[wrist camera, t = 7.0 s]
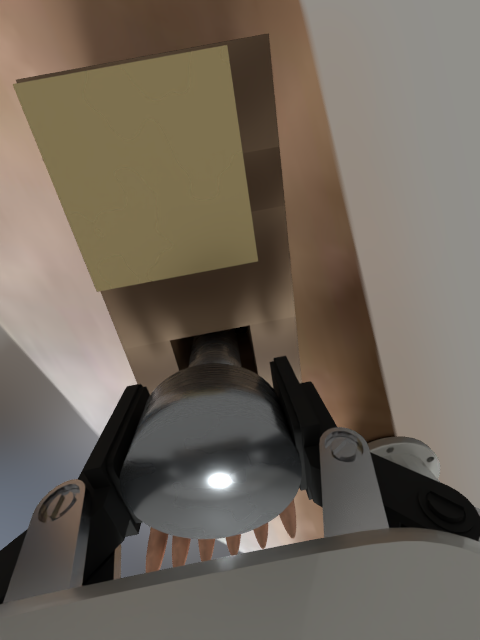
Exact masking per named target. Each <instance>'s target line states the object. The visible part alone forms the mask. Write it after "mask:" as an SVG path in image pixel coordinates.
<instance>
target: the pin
mask: <svg viewBox="0 0 480 640" xmlns="http://www.w3.org/2000/svg"><path fill="white" fill-rule="evenodd" d="M301 478H302V467H301V462H300V458H299V455H298V453H297V450H296V448H295V445H294V442H293V439H292V436H291V433H290V430H289V427H288V424H287V421H286V418H285V415H284V412H283V409H282V406H281V403H280V400H279V397H278V395H277V393H276V392H275V390H274V389H273V388H272V386H271V385H270V384H269V383H268V382H267V381H266V380H264V379H263V378H262V377H261V376H259V375H257V374H256V373H254V372H252V371H250V370H248V369H245V368H242V366H241V360H240V353H239V347H238V341H237V336H236V333H235V331H234V329H233V328H232V329H227V330H222V331H217V332H212V333H206V334H201V335H196V336H194V338H193V344H192V349H191V354H190V360H189V365H188V368H186V369H183V370H180V371H178V372H176V373H174V374H172V375H171V376H169V377H168V378H166V379H165V380H164V381H162V382H161V383H160V384H159V385H158V386H157V387H156V388H155V390H154V391H153V392H152V393H151V395H150V397H149V398H148V400H147V403H146V405H145V408H144V410H143V413H142V416H141V418H140V421H139V424H138V426H137V429H136V432H135V434H134V437H133V440H132V442H131V445H130V448H129V450H128V453H127V456H126V458H125V461H124V464H123V466H122V469H121V474H120V490H121V495H122V497H123V499H124V502H125V504H126V505H127V507H128V508H129V510H130V511H131V512H132V513H133V514H134V515H135V516H136V517H137V518H138V519H140V520H141V521H142V522H144V523H145V524H147V525H148V526H151V527H152V528H154V529H156V530H158V531H161V532H164V533H166V534H170V535H173V536H177V537H183V538H190V539H217V538H225V537H231V536H235V535H239V534H242V533H245V532H248V531H251V530H253V529H256V528H258V527H260V526H262V525H264V524H266V523H268V522H269V521H271V520H272V519H274V518H275V517H277V516H278V515H279V514H280V513H281V512H283V511H284V510H285V509H286V508H287V506H288V505H289V504H290V503H291V501H292V500H293V499H294V497H295V495H296V494H297V492H298V489H299V486H300V484H301Z"/></svg>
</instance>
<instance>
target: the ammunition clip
mask: <svg viewBox="0 0 480 640" xmlns="http://www.w3.org/2000/svg"><path fill="white" fill-rule="evenodd" d="M279 515H280V518H281V521H282V523H283V525H284V527H285V529H286V531H287V533H288V534H289V536H290V537H291V538H294V537H295V534H296V512H295V504H294V499H293V500H292V501H291V503H290V504H289V505H288V506H287V508H286V509H285V510H284V511H283V512H281V513H280V514H279ZM253 530H254V533H255V536H256V538H257V541H258V543H259V545H260V547H261V548H262V549H264V548H265V546H266V542H267V536H268V523H266V524H264V525H262V526H260V527H258V528H256V529H253ZM240 538H241V534H239V535H235V536H231V537H226V541H227V545H228V549H229V552H230V554H231V556H233V555H237V553H238V550H239V545H240ZM167 539H168V534H166V533H164V532H161V531H158V530H156V529H154V528H152V527H151V529H150V536H149V541H148V547H147V555H146V573H149V572H154V571H159V569H160V566H161V563H162V560H163V557H164V553H165V549H166V544H167ZM198 541H199V551H200V557H201V561H202V562H203V561H208V560H211V557H212V553H213V548H214V542H215V539H198ZM189 545H190V538H183V537H177V536H173V541H172V560H173V561H172V562H173V567H178V566H183V565H185V561H186V558H187V554H188V550H189Z"/></svg>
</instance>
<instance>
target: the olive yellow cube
mask: <svg viewBox="0 0 480 640" xmlns="http://www.w3.org/2000/svg"><path fill="white" fill-rule="evenodd" d="M13 86H14V89H15V91H16V94H17V96H18V99H19V101H20V104H21V106H22V109H23V111H24V114H25V116H26V118H27V121H28V123H29V126H30V128H31V131H32V133H33V136H34V138H35V141H36V143H37V146H38V148H39V150H40V153H41V155H42V158H43V160H44V163H45V165H46V168H47V170H48V173H49V175H50V178H51V180H52V182H53V185H54V187H55V190H56V192H57V195H58V197H59V200H60V202H61V205H62V207H63V210H64V212H65V214H66V217H67V219H68V222H69V224H70V227H71V229H72V232H73V234H74V237H75V239H76V242H77V244H78V246H79V249H80V251H81V254H82V256H83V259H84V261H85V264H86V266H87V269H88V271H89V274H90V276H91V278H92V281H93V283H94V286H95V288H96V291H97V292H99V291H104V290H109V289H114V288H120V287H125V286H130V285H136V284H141V283H146V282H151V281H157V280H162V279H167V278H173V277H178V276H183V275H188V274H194V273H199V272H204V271H210V270H215V269H220V268H225V267H231V266H236V265H241V264H247V263H252V262H257V261H258V256H257V249H256V242H255V236H254V229H253V222H252V215H251V208H250V201H249V194H248V187H247V180H246V173H245V166H244V159H243V152H242V145H241V138H240V131H239V124H238V117H237V110H236V103H235V96H234V89H233V82H232V75H231V68H230V61H229V54H228V47H227V45H224V46H219V47H213V48H208V49H202V50H197V51H191V52H186V53H180V54H175V55H169V56H164V57H159V58H153V59H148V60H142V61H137V62H131V63H126V64H120V65H115V66H109V67H104V68H99V69H93V70H88V71H82V72H77V73H71V74H66V75H60V76H55V77H49V78H44V79H39V80H33V81H28V82H22V83H17V84H13Z"/></svg>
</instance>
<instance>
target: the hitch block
mask: <svg viewBox="0 0 480 640" xmlns="http://www.w3.org/2000/svg"><path fill="white" fill-rule="evenodd" d="M224 45H227V47H228V54H229V61H230V68H231V75H232V82H233V89H234V96H235V103H236V110H237V117H238V124H239V131H240V138H241V145H242V152H243V159H244V166H245V173H246V180H247V187H248V194H249V201H250V208H251V215H252V222H253V229H254V236H255V242H256V249H257V256H258V261H257V262H252V263H247V264H241V265H236V266H231V267H225V268H220V269H215V270H210V271H204V272H199V273H194V274H188V275H183V276H178V277H173V278H167V279H162V280H157V281H151V282H146V283H141V284H136V285H130V286H125V287H120V288H114V289H109V290H104V291H101V294H102V296H103V299H104V301H105V304H106V306H107V309H108V311H109V314H110V316H111V319H112V321H113V324H114V326H115V329H116V331H117V334H118V336H119V339H120V341H121V344H122V346H123V349H124V351H125V354H126V356H127V359H128V361H129V364H130V366H131V369H132V371H133V374H134V376H135V379H136V381H137V384H142V386H143V387H144V386H146V387H147V389H148V391H149V394H150V395H151V393H152V392H153V391H154V390H155V388H156V387H157V386H158V385H159V384H160V383H161V382H162V381H164V380H165V379H166V378H168V377H169V376H171V375H172V374H174V373H176V372H178V371H180V370H183V369H186V368H188V365H189V360H190V354H191V349H192V344H193V338H194V336H196V335H201V334H206V333H212V332H217V331H222V330H227V329H232V328H238V327H243V326H246V330H247V333H242V334H236V336H237V341H238V347H239V353H240V360H241V366H242V368H245V369H248V370H250V371H252V372H254V373H256V374H257V375H259V376H261V377H262V378H263V379H264V380H266V381H267V382H268V383H269V384H270V385H271V386H272V388H273V383H272V376H271V369H270V362H272V361H274V358H276V357H281V356H286V357H287V359H288V361H289V363H290V365H291V367H292V369H293V371H294V373H295V375H296V377H297V379H298V381H299V383H302V380H301V369H300V359H299V348H298V338H297V327H296V317H295V306H294V296H293V285H292V274H291V264H290V253H289V243H288V232H287V222H286V211H285V201H284V190H283V180H282V169H281V159H280V148H279V138H278V127H277V117H276V106H275V96H274V85H273V75H272V64H271V54H270V43H269V34H263V35H258V36H252V37H247V38H241V39H236V40H230V41H225V42H219V43H214V44H208V45H203V46H198V47H192V48H187V49H181V50H176V51H170V52H165V53H159V54H154V55H148V56H143V57H138V58H132V59H127V60H121V61H116V62H110V63H105V64H99V65H94V66H88V67H83V68H77V69H72V70H67V71H61V72H56V73H50V74H45V75H39V76H34V77H28V78H23V79H17V80H16V81H17V83H22V82H28V81H33V80H39V79H44V78H49V77H55V76H60V75H66V74H71V73H77V72H82V71H88V70H93V69H99V68H104V67H109V66H115V65H120V64H126V63H131V62H137V61H142V60H148V59H153V58H159V57H164V56H169V55H175V54H180V53H186V52H191V51H197V50H202V49H208V48H213V47H219V46H224Z"/></svg>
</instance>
